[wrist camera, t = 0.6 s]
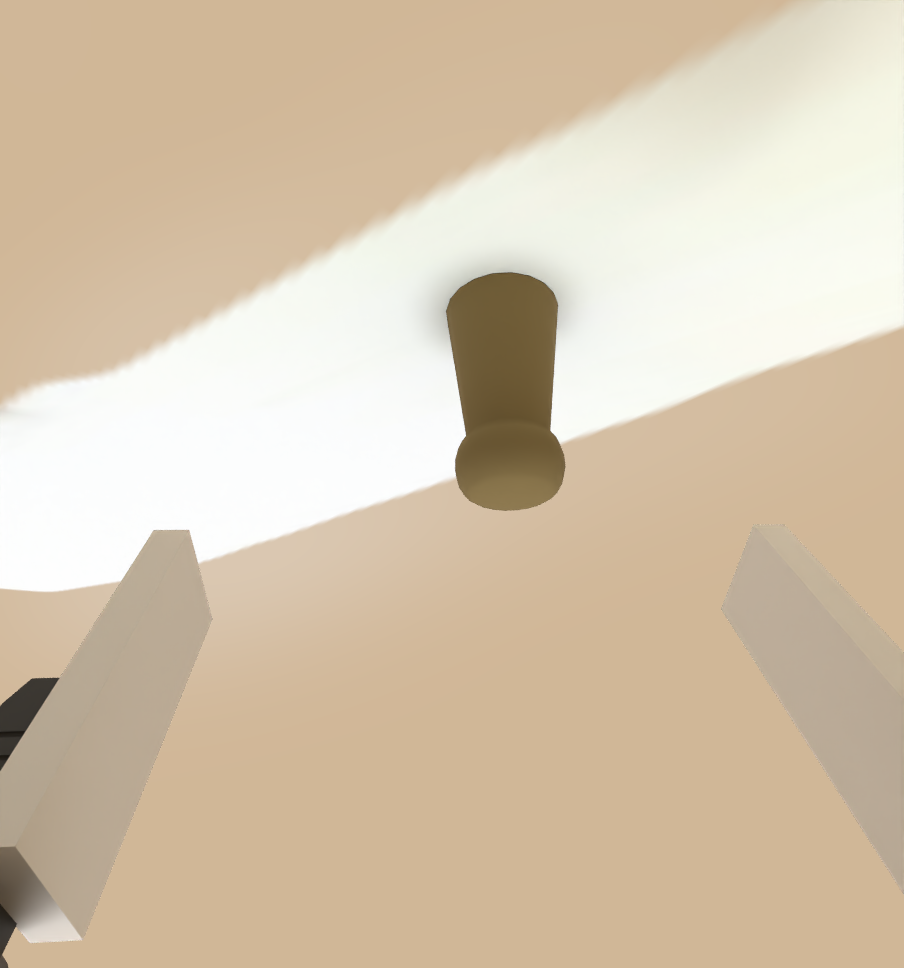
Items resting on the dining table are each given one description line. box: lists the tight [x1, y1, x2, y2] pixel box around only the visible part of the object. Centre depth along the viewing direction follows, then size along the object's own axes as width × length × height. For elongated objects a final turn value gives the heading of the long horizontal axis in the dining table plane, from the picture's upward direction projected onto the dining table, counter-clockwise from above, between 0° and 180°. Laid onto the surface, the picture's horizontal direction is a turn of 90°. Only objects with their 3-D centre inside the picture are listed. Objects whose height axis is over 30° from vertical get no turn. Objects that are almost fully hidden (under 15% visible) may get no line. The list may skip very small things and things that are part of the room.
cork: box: [446, 273, 565, 511], centre depth 29 cm, size 6×6×11 cm
